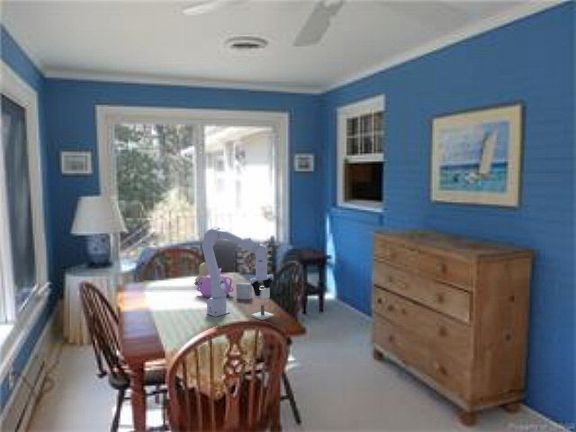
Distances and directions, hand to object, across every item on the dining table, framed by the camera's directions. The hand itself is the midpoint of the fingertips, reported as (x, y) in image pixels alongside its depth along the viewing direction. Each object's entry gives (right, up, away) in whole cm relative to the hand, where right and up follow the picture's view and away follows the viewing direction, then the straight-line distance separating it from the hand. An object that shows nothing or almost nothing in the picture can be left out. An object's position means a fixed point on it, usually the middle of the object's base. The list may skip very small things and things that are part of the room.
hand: (261, 294), depth 236 cm
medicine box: (-12, -7, +29) cm, 32 cm away
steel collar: (0, -1, 0) cm, 1 cm away
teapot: (-29, -7, +39) cm, 49 cm away
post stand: (+1, -10, -3) cm, 11 cm away
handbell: (-40, -4, +69) cm, 79 cm away
